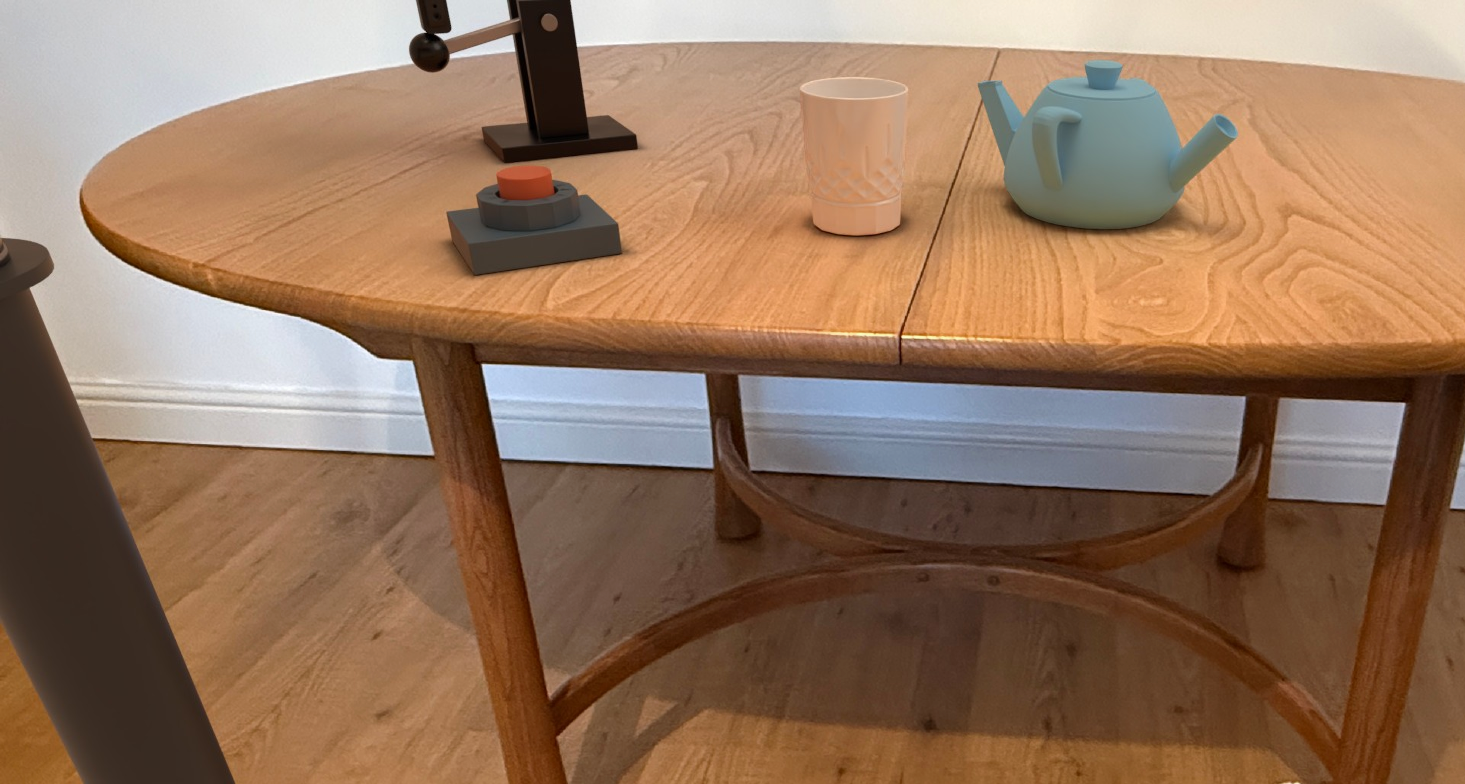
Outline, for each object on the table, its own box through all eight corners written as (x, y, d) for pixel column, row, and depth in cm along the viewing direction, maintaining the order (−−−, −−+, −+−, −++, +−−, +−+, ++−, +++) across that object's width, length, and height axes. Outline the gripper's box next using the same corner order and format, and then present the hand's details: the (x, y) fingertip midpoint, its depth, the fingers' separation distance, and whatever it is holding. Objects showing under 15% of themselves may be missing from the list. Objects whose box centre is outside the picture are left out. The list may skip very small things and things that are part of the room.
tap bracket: (504, 163, 101) (476, 5, 94) (483, 140, 107) (455, -8, 101) (638, 148, 106) (620, -1, 99) (610, 128, 113) (592, -14, 106)
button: (507, 207, 77) (502, 181, 76) (495, 193, 80) (491, 168, 79) (560, 200, 79) (556, 175, 78) (547, 187, 82) (543, 162, 81)
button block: (474, 275, 76) (462, 216, 74) (452, 241, 82) (440, 185, 80) (622, 253, 81) (615, 197, 79) (591, 222, 86) (583, 169, 84)
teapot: (1042, 248, 84) (1053, 88, 78) (971, 186, 98) (975, 46, 92) (1229, 234, 88) (1253, 81, 82) (1135, 176, 102) (1149, 42, 96)
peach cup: (835, 203, 92) (831, 73, 87) (924, 216, 90) (925, 83, 85) (786, 230, 86) (779, 91, 81) (881, 244, 84) (879, 102, 78)
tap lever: (422, 80, 97) (405, 42, 95) (416, 74, 99) (399, 36, 97) (567, 34, 101) (553, -4, 99) (558, 29, 103) (544, -8, 101)
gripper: (327, -209, 91) (379, 24, 101) (346, -209, 82) (402, 48, 91) (426, -206, 95) (468, 19, 104) (456, -207, 85) (499, 41, 94)
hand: (437, 32), depth 97 cm, fingers closed
